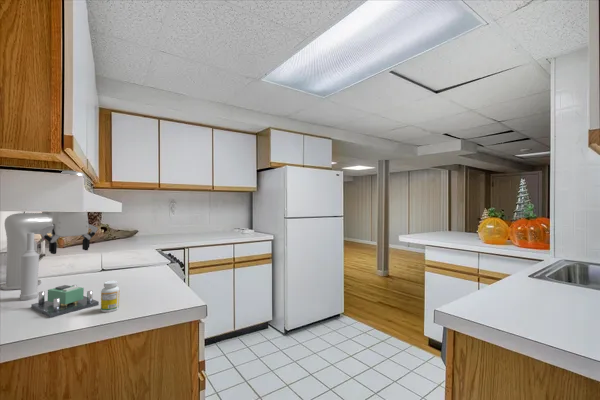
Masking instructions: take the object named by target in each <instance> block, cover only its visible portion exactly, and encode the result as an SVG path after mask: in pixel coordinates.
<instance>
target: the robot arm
mask: <svg viewBox="0 0 600 400" xmlns="http://www.w3.org/2000/svg"><path fill="white" fill-rule="evenodd" d="M61 171H62V172H61V173H63V174H70V175H78V176H83V178H84V185H85V186H86V174H85V173H84V172H81V171H75V170H61ZM4 229H5V230H4V231H5V233H6V234H5V236H6V265H5V266H6V268H5V269H6V272H5V276H6V277H5V283H3V284H0V289H1V290H5V291H6V290H7V291H8V290H9V291H10V290H12V291H13V290H21V255H23V254H24V253H25V251H26V250H27V233H34V235H41V236H42V239H44V240H46V241H47V242H48V252H49V253H50V254H52V255H57V252H58V251H57V249H58V247H57V246H58V243H57V240H59V238H62V237H64V238H65V237H78V236H79V237H80V236H81V237H83V239H82V250H83V251H89V248H90V243H91V242H90V240H91V239H92V238H93V237H94V236H95V235H96V233H97V232H98V229H99V227H98V226H94V225H92V224H90V223H89V216H88V211H87V212H22V213H20V212H19V213H14V214H10V215H8V216H6V218H5V219H4ZM89 229H90V230H91V231H90V232H89ZM49 234H51V236H50V235H49ZM34 250H35V252H36V253H38V244H37V242H36V240H35V239H34ZM41 283H42V281H41V279H38V286H39V285H40V284H41Z"/></svg>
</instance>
